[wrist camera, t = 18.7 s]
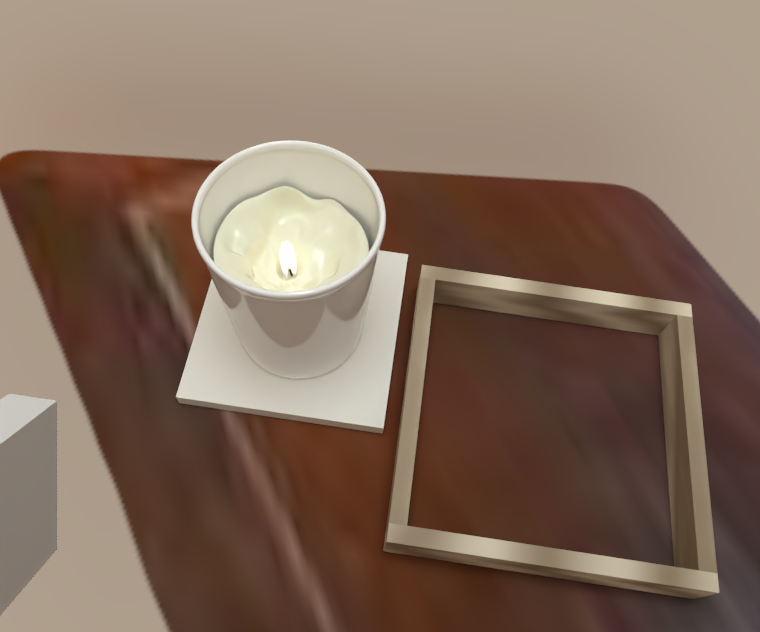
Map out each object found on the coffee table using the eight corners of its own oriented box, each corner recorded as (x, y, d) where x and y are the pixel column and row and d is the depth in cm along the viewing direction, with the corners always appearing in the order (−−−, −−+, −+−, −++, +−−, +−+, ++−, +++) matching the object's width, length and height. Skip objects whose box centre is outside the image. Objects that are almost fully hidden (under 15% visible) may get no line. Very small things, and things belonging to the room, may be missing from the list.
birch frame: (671, 325, 47) (691, 304, 45) (693, 599, 39) (719, 592, 36) (417, 287, 48) (422, 264, 45) (383, 551, 39) (386, 541, 36)
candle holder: (253, 247, 47) (228, 122, 37) (389, 278, 47) (404, 161, 36) (204, 371, 43) (160, 270, 32) (354, 407, 42) (360, 316, 32)
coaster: (406, 262, 49) (408, 254, 48) (382, 433, 42) (383, 428, 42) (229, 236, 49) (227, 228, 48) (179, 402, 43) (175, 397, 42)
